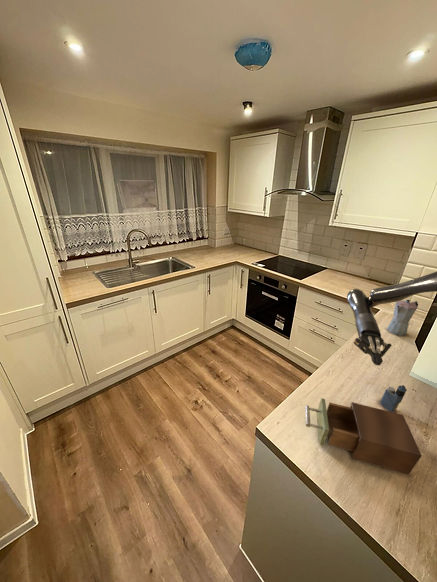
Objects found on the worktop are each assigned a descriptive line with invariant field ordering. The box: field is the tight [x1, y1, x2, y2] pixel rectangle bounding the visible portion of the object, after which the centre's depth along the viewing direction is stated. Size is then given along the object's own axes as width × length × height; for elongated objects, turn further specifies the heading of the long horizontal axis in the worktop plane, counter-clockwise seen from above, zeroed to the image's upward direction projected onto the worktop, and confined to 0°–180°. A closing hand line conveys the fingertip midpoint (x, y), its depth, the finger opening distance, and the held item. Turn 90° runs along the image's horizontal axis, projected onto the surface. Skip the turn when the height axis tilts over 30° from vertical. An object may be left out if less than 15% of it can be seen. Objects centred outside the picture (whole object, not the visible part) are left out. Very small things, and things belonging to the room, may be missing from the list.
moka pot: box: [386, 299, 419, 337], centre depth 126 cm, size 10×15×20 cm, turn 112°
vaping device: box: [379, 384, 407, 413], centre depth 83 cm, size 3×5×12 cm, turn 24°
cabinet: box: [349, 401, 423, 476], centre depth 71 cm, size 15×13×9 cm
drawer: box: [304, 397, 360, 452], centre depth 74 cm, size 18×11×7 cm, turn 73°
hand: (378, 364), depth 82 cm, fingers closed
